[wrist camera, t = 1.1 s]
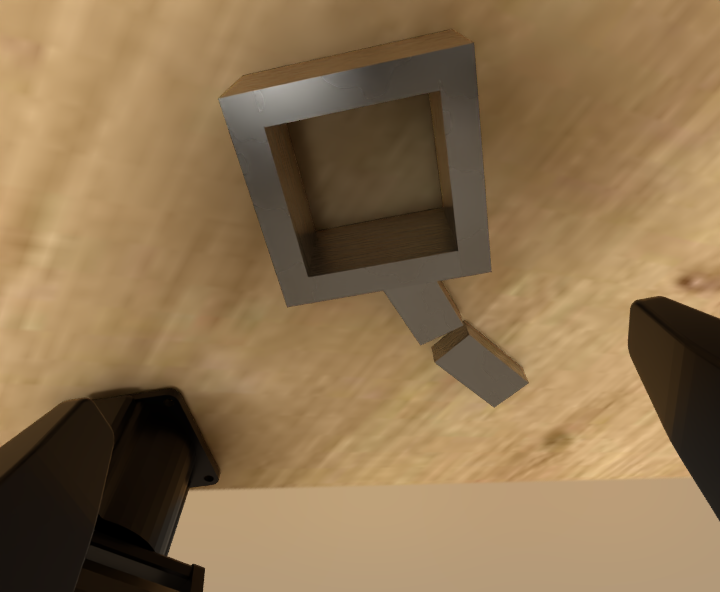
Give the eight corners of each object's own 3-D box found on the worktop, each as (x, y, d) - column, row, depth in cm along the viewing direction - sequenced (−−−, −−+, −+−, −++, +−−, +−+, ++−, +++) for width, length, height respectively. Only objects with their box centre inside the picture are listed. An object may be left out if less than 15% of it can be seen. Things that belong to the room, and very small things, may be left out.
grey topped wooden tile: (457, 306, 23) (463, 325, 22) (417, 326, 23) (420, 345, 22) (415, 235, 21) (418, 251, 20) (372, 258, 21) (372, 275, 20)
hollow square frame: (471, 226, 20) (491, 271, 17) (297, 258, 21) (287, 307, 18) (452, 28, 17) (474, 42, 14) (242, 75, 17) (218, 98, 14)
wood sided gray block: (520, 362, 24) (528, 383, 23) (487, 386, 25) (494, 407, 24) (463, 315, 23) (469, 334, 22) (430, 342, 24) (434, 362, 23)
